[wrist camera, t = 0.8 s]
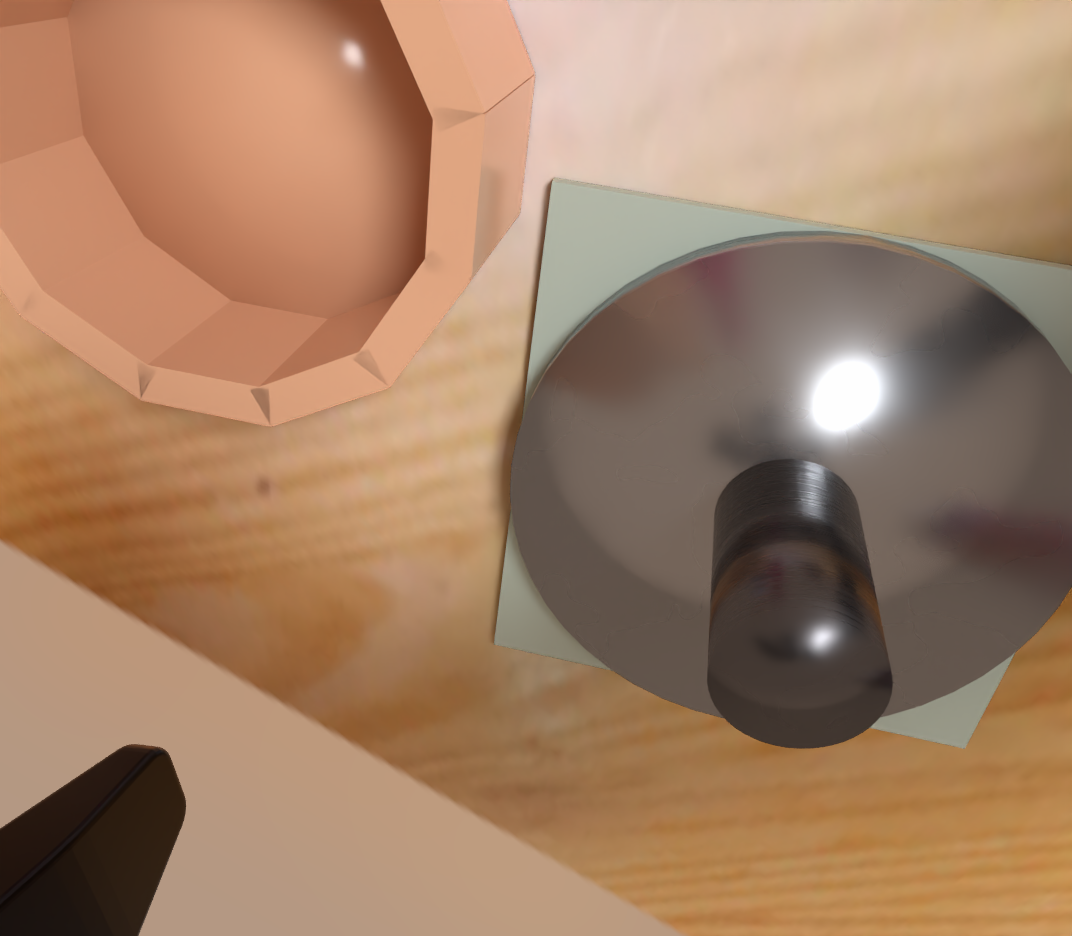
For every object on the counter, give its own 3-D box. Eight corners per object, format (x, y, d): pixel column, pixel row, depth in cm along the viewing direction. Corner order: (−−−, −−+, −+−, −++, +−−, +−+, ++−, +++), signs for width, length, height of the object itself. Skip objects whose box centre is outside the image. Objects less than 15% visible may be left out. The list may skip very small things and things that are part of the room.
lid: (1203, 292, 17) (1394, 448, 12) (964, 748, 23) (1024, 973, 18) (552, 180, 18) (481, 280, 13) (493, 644, 24) (431, 828, 19)
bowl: (560, -158, 15) (509, -177, 12) (502, 373, 21) (455, 464, 17) (14, -231, 16) (-175, -268, 13) (89, 294, 22) (-32, 365, 18)
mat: (1197, 287, 17) (1203, 292, 17) (962, 739, 23) (965, 748, 23) (554, 177, 18) (552, 181, 18) (496, 637, 25) (494, 644, 24)
